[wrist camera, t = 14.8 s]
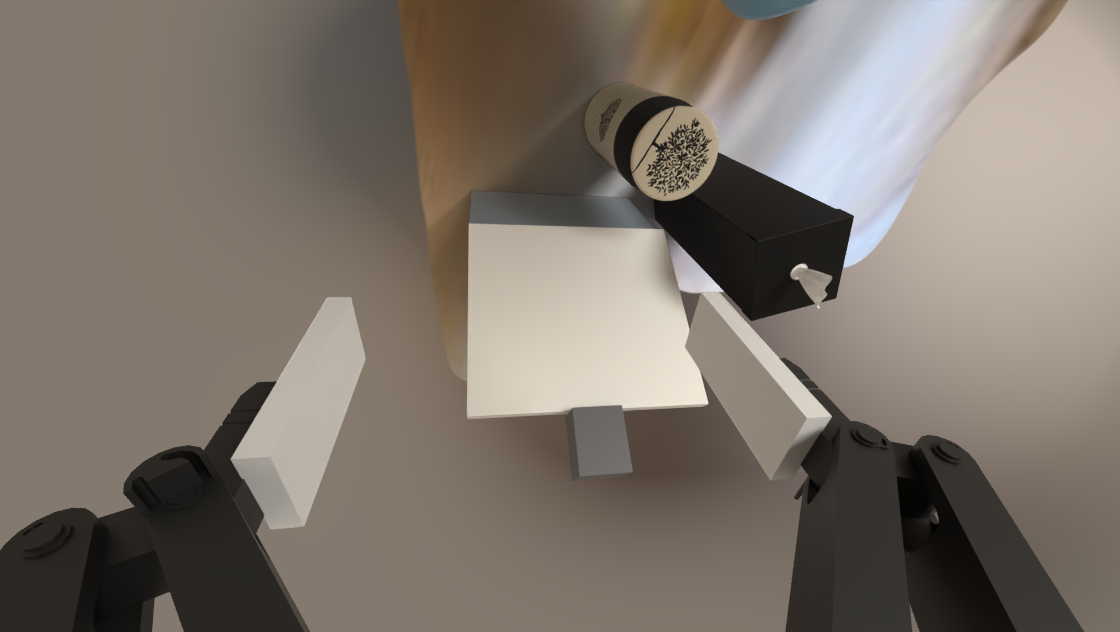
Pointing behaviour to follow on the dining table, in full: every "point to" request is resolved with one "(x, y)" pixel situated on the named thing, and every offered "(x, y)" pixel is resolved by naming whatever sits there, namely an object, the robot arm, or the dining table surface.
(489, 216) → the carton
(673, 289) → the lid
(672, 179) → the travel mug
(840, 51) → the dining table surface
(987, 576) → the robot arm
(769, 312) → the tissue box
